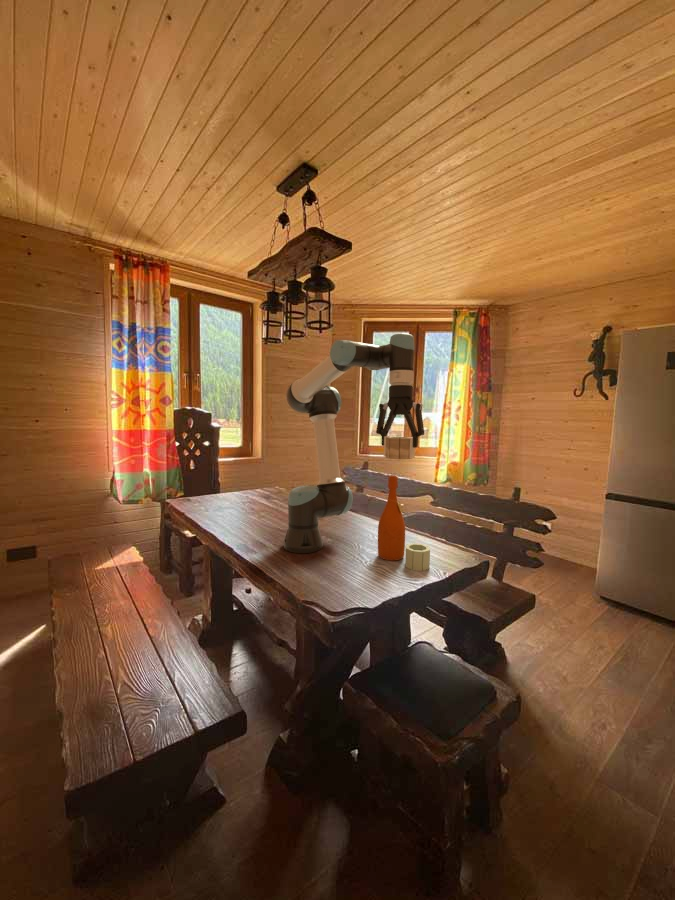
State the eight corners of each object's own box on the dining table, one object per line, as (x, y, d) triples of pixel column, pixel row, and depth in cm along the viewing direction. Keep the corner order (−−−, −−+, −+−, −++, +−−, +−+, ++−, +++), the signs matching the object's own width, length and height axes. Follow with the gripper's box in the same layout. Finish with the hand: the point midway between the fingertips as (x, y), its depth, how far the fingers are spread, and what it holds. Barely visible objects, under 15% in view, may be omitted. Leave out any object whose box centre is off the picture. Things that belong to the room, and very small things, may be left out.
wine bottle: (389, 563, 129) (391, 478, 127) (372, 554, 138) (373, 474, 135) (410, 558, 135) (412, 476, 132) (392, 550, 143) (394, 472, 140)
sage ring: (405, 569, 125) (405, 550, 124) (405, 560, 133) (406, 542, 132) (429, 571, 123) (430, 552, 123) (428, 562, 131) (429, 544, 131)
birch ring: (382, 458, 118) (382, 437, 117) (392, 455, 125) (392, 436, 124) (406, 459, 114) (406, 438, 113) (415, 457, 121) (415, 437, 120)
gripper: (366, 385, 119) (364, 455, 121) (429, 383, 109) (427, 460, 111) (376, 387, 126) (374, 454, 128) (437, 385, 115) (434, 458, 117)
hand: (398, 456), depth 119 cm, fingers closed on birch ring, 8 cm apart
